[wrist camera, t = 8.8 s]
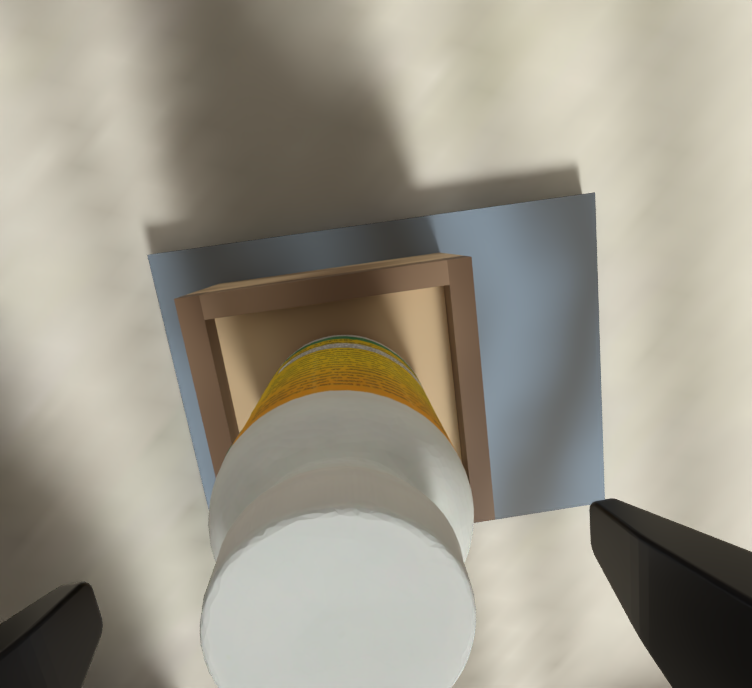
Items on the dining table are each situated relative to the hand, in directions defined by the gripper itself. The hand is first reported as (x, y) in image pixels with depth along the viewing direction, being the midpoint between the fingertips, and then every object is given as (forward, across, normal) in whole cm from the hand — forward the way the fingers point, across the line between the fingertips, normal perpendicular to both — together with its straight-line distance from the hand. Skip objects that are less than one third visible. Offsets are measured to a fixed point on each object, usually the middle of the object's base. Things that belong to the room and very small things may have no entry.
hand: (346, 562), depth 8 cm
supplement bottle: (+8, 0, 0) cm, 8 cm away
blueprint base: (+13, -2, +1) cm, 13 cm away
